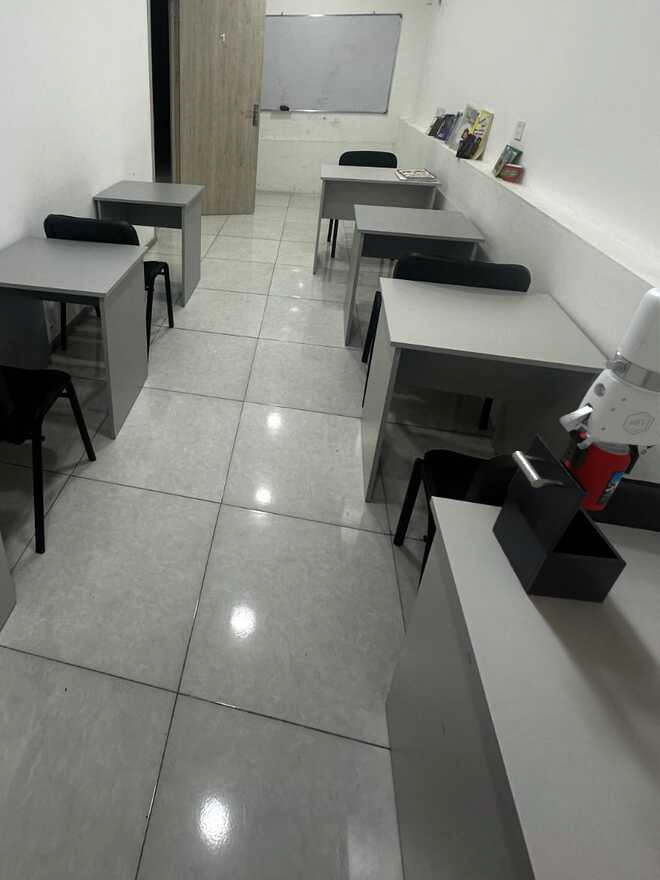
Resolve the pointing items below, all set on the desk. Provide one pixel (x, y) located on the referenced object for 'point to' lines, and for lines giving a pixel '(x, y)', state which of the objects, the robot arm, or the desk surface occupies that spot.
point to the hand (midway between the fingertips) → (595, 464)
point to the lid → (545, 492)
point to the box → (559, 557)
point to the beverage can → (601, 471)
